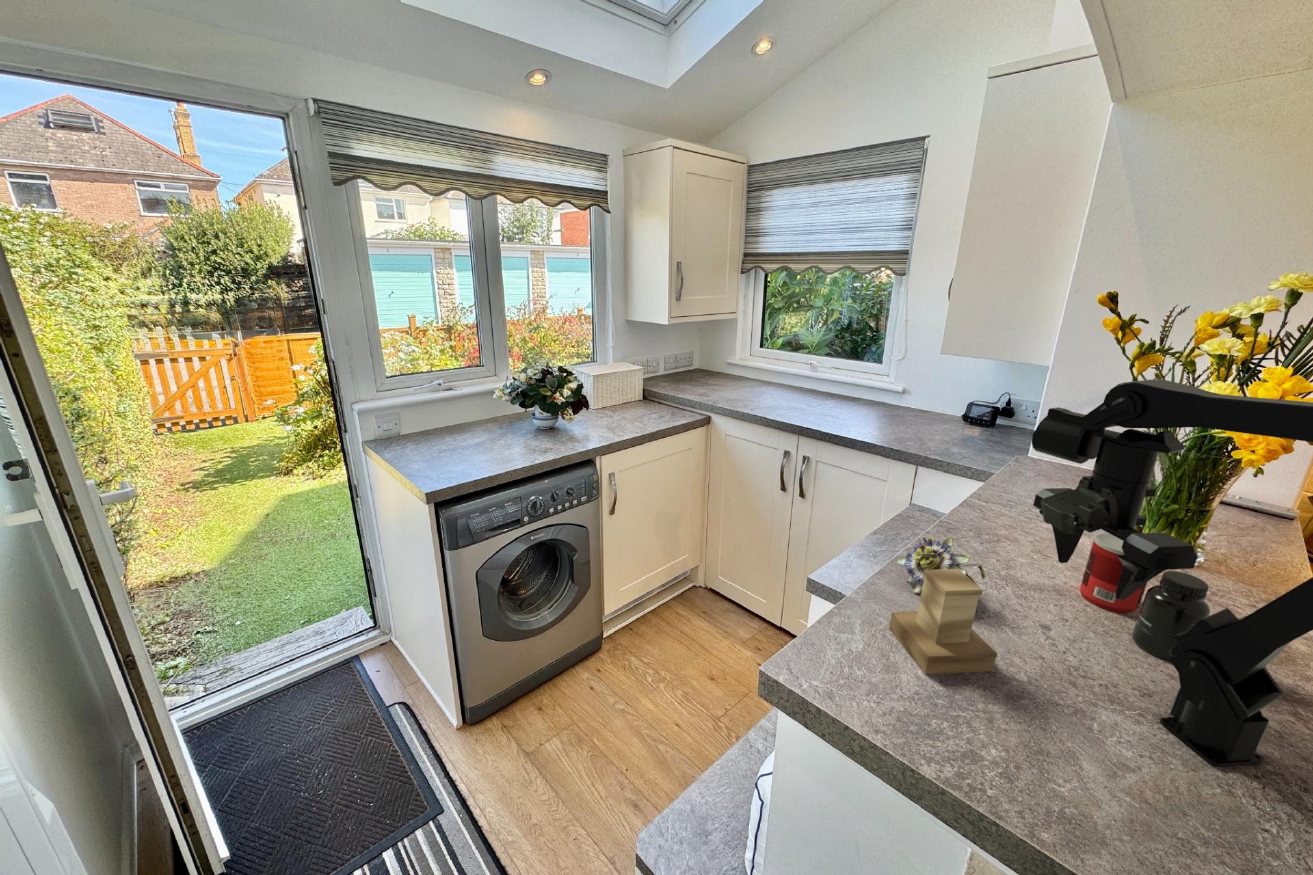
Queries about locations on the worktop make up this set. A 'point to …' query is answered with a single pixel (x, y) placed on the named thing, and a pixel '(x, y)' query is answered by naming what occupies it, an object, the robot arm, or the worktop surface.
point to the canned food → (1107, 576)
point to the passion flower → (933, 560)
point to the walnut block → (941, 648)
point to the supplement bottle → (1170, 612)
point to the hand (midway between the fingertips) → (1089, 579)
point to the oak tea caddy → (947, 605)
